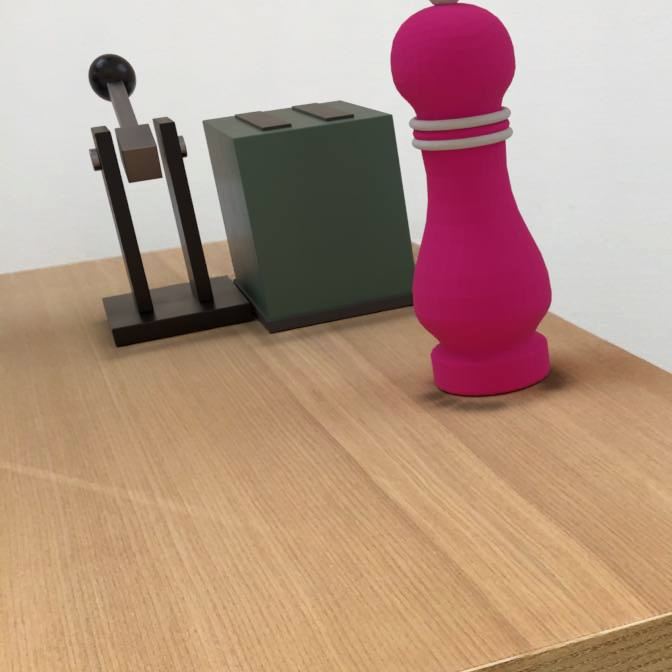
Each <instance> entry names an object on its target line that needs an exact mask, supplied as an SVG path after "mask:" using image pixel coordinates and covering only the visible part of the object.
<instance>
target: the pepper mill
mask: <svg viewBox="0 0 672 672" xmlns="http://www.w3.org/2000/svg"><path fill="white" fill-rule="evenodd" d="M428 1H429V2H430V3H431V4H432V5H431V6H429V7H428V6H427V7H424V8H422V9H420V10H418V11H417V12H415V13H413V14H411V15H410V16H409V17H408V18H407V19H405V20H404V21H403V22H402V23H401V24H400V26H399V28H398V30H397V31H396V33H395V35H394V37H393V40H392V41H391V42H392V43H391V49H390V55H389V57H390V58H389V60H390V61H389V62H390V72H391V77H392V82H393V85H394V87H395V89H396V91H397V92H398V93H399V95H400V97H402V98H403V99H404V100H405V101H406V102H407V103H408V104H409V105H410V106H411V108H412V109H413V111H414V113H415V116H412V118H410V119H409V121H408V126H409V128H411V129H412V136H413V138H412V140H411V145H412V147H413V148H414V149H417V150H419V151H420V152H421V157H422V158H421V159H422V162H423V166H424V171H425V179H426V193H427V195H426V196H427V204H426V206H427V207H426V216H425V224H424V228H423V233H422V237H421V241H420V246H419V249H418V254H417V256H416V257H417V258H416V262H415V271H414V280H413V302H414V305H413V311H414V315H415V318H416V319H417V321H418V322H419V324H420V325H421V326H422V327H423V328H424V330H426V331H427V332H428V333H429V334H430V335H431V336H432V337H434V338H435V339H436V340H437V342H439V343H438V344H436V345H435V346H434V347H433V348H432V349H431V352H430V360H431V361H430V362H431V367H432V368H431V369H432V375H433V381H434V384H435V386H436V387H437V388H439V389H440V390H441V391H444V392H446V393H449V394H453V395H460V396H492V395H499V394H505V393H510V392H515V391H519V390H522V389H525V388H529V387H530V386H532V385H535V384H537V383H539V382H541V381H542V380H543V379H544V378H546V377H547V376H548V375H549V374H550V371H551V362H550V360H551V359H550V353H549V352H550V351H549V344H548V342H549V341H548V338H547V337H546V336H545V335H544V334H543V333H541V332H539V331H537V329H538V327H539V326H540V325H541V322H542V321H543V319H544V318H545V316H547V313H548V312H549V310H550V308H551V304H552V302H553V301H552V298H553V292H552V286H551V285H552V284H551V280H550V274H549V270H548V268H547V265H546V262H545V260H544V257H543V255H542V252H541V250H540V248H539V247H538V244H537V242H536V241H535V238H534V237H533V235H532V233H531V231H530V229H529V227H528V226H527V224H526V221H525V220H524V218H523V216H522V214H521V211H520V209H519V207H518V204H517V201H516V198H515V195H514V192H513V189H512V183H511V180H510V179H511V178H510V174H509V170H508V161H507V158H508V157H507V140H508V139H510V138H511V137H512V136H513V134H514V130H513V128H512V127H511V126H510V125H511V121H510V120H509V118H510V117H511V115H512V110H511V108H509V107H507V106H503V100H504V97H505V94H506V93H507V91H508V89H509V88H510V86H511V84H512V83H513V80H514V77H515V74H516V68H517V64H516V54H515V47H514V43H513V40H512V37H511V35H510V33H509V30H508V29H507V27H506V26H505V25H504V23H503V22H502V20H501V19H500V18H499V17H498V16H497V15H495V14H494V13H493V12H491V11H489V10H488V9H486V8H484V7H481V6H479V5H476V4H472V3H467V2H459V1H460V0H428Z"/></svg>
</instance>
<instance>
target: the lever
mask: <svg viewBox="0 0 672 672" xmlns="http://www.w3.org/2000/svg"><path fill="white" fill-rule="evenodd" d="M87 79H88V83H89V85H90V88H91V89H92V92H94V93H95V95H96V96H97V97H99V98H100V99H102V100H103V101H106V102H109V103H111V104H112V108H113V110H114V114H115V116H116V120H117V123H118V126H119V127H115V128H114V134H115V139H116V144H117V149H118V152H119V157H120V162H121V164H122V167H123V170H124V173H125V176H126V180H127V182H128V184H133V183H141V182H145V181H146V182H147V181H152V180H158V179H159V180H160V179H163V177H164V176H163V171H162V167H161V166H162V165H161V160H160V155H159V149H158V144H157V143H156V142H157V141H156V140H155V137H154V134H153V131H152V129H151V126H150V124H149V123H141V124H139V123H138V119H137V117H136V114H135V111H134V108H133V105H132V103H131V100H130V97H131V96H132V95H133V94H134V92H135V90H136V88H137V75H136V71H135V69H134V67H133V65H132V64H131V63H130V62H129V61H128V60H127V59H126V58H124V57H122V56H121V55H118V54H115V53H104V54H101V55H99V56H97V57H96V58H94V59H93V60H92V61H91V63H90V65H89V68H88V73H87Z"/></svg>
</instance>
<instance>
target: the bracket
mask: <svg viewBox="0 0 672 672" xmlns="http://www.w3.org/2000/svg"><path fill="white" fill-rule="evenodd" d="M152 125H153V128H154V129H153V130H154V133H155V137H156V142H157V147H158V152H159V154H160V155H159V156H160V158H161V163H162V168H163V172H164V176H165V181H166V185H167V190H168V194H169V198H170V202H171V203H170V204H171V207H172V212H173V216H174V221H175V224H176V229H177V233H178V239H179V243H180V247H181V252H182V255H183V261H184V264H185V269H186V272H187V278H188V281H187V282H182V283H177V284H171V285H166V286H161V287H160V286H159V287H154V288H150V287H149V283H148V279H147V275H146V272H145V267H144V263H143V259H142V255H141V254H142V253H141V250H140V246H139V243H138V238H137V234H136V230H135V226H134V222H133V217H132V213H131V209H130V206H129V201H128V197H127V192H126V189H125V185H124V181H123V177H122V172H121V168H120V164H119V159H118V156H117V152H116V147H115V144H114V140H113V135H112V132H111V130H110V129H109V128H108V127H107V125H100V126H92V127H90V132H91V136H92V141H93V144H94V147H93V148H89V149H88V153H89V158H90V161H91V165H92V170H93V171H94V172H100V173H101V176H102V181H103V184H104V187H105V188H104V189H105V192H106V196H107V201H108V205H109V208H110V211H111V216H112V220H113V225H114V228H115V232H116V236H117V240H118V244H119V249H120V252H121V256H122V260H123V264H124V269H125V272H126V276H127V280H128V283H129V288H130V292H127V293H123V294H118V295H112V296H111V295H110V296H106V297H102V298H101V301H102V305H103V309H104V313H105V316H106V318H107V322H108V325H109V329H110V332H111V335H112V339H113V342H114V345H115V347H118V348H119V347H123V346H128V345H132V344H138V343H143V342H148V341H154V340H157V339H158V340H159V339H163V338H168V337H174V336H179V335H184V334H188V333H194V332H199V331H204V330H209V329H214V328H220V327H225V326H231V325H235V324H240V323H246V322H251V321H254V313H253V311H252V309H251V304H250V302H249V301H248V300H247V299H246V297H245V296H244V295H243V294H242V293H241V291H240V290H239V289H238V288H237V286H236V285H235V284H234V283H233V279H231V278H230V277H229V275H228V274H226V275H220V276H214V277H210V276H209V270H208V265H207V261H206V256H205V252H204V248H203V243H202V239H201V234H200V229H199V224H198V221H197V216H196V215H197V214H196V212H195V207H194V201H193V198H192V193H191V189H190V184H189V179H188V175H187V171H186V170H187V169H186V166H185V161H184V158H188V150H187V145H186V141H185V138H184V135H182V134H181V135H179V134H178V130H177V125H176V122H175V121H174V120H173V119H171V118H170V117H169V116H161V117H154V118H152Z"/></svg>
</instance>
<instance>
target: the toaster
mask: <svg viewBox="0 0 672 672" xmlns="http://www.w3.org/2000/svg"><path fill="white" fill-rule="evenodd" d="M201 123H202V128H203V131H204V136H205V137H204V138H205V140H206V142H205V143H206V144H207V145H206V146H207V151H208V156H209V160H210V165H211V169H212V174H213V179H214V183H215V189H216V193H217V198H218V202H219V208H220V212H221V217H222V222H223V226H224V230H225V235H226V241H227V246H228V251H229V255H230V259H231V264H232V269H233V273H234V274H233V275H234V277H235V278H233V279H232V282H233V283H234V284H235V285H236V286H237V288H238V289H239V290H240V291H241V293H242V294H243V295H244V296H245V297H246V299H247V300H248V301H249V302H250V304H251V309H252V313H253V315H255V316H256V318H257V319H258V320H259V321H260V323H261V324H262V325H263V327H264V328H265V329H266V330H267V331H268V333H269V334H272V333H278V332H283V331H288V330H293V329H298V328H303V327H307V326H313V325H318V324H323V323H327V322H334V321H338V320H343V319H348V318H352V317H358V316H362V315H367V314H373V313H379V312H382V311H388V310H393V309H398V308H403V307H408V306H414V302H413V280H414V271H415V265H416V263H415V258H414V250H413V244H412V238H411V231H410V224H409V217H408V210H407V204H406V196H405V190H404V189H405V188H404V183H403V176H402V169H401V164H400V163H401V162H400V156H399V150H398V149H399V148H398V143H397V135H396V129H395V123H394V115H393V114H392V113H388V112H384V111H380V110H377V109H373V108H370V107H366V106H363V105H359V104H355V103H351V102H348V101H344V100H333V101H326V102H311V103H304V104H298V105H297V104H296V105H292V106H291V107H284V108H278V109H271V110H265V111H263V110H257V111H250V112H243V113H236V114H235V113H234V115H229V116H223V117H216V118H210V119H209V118H208V119H203V120H202V121H201Z"/></svg>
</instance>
